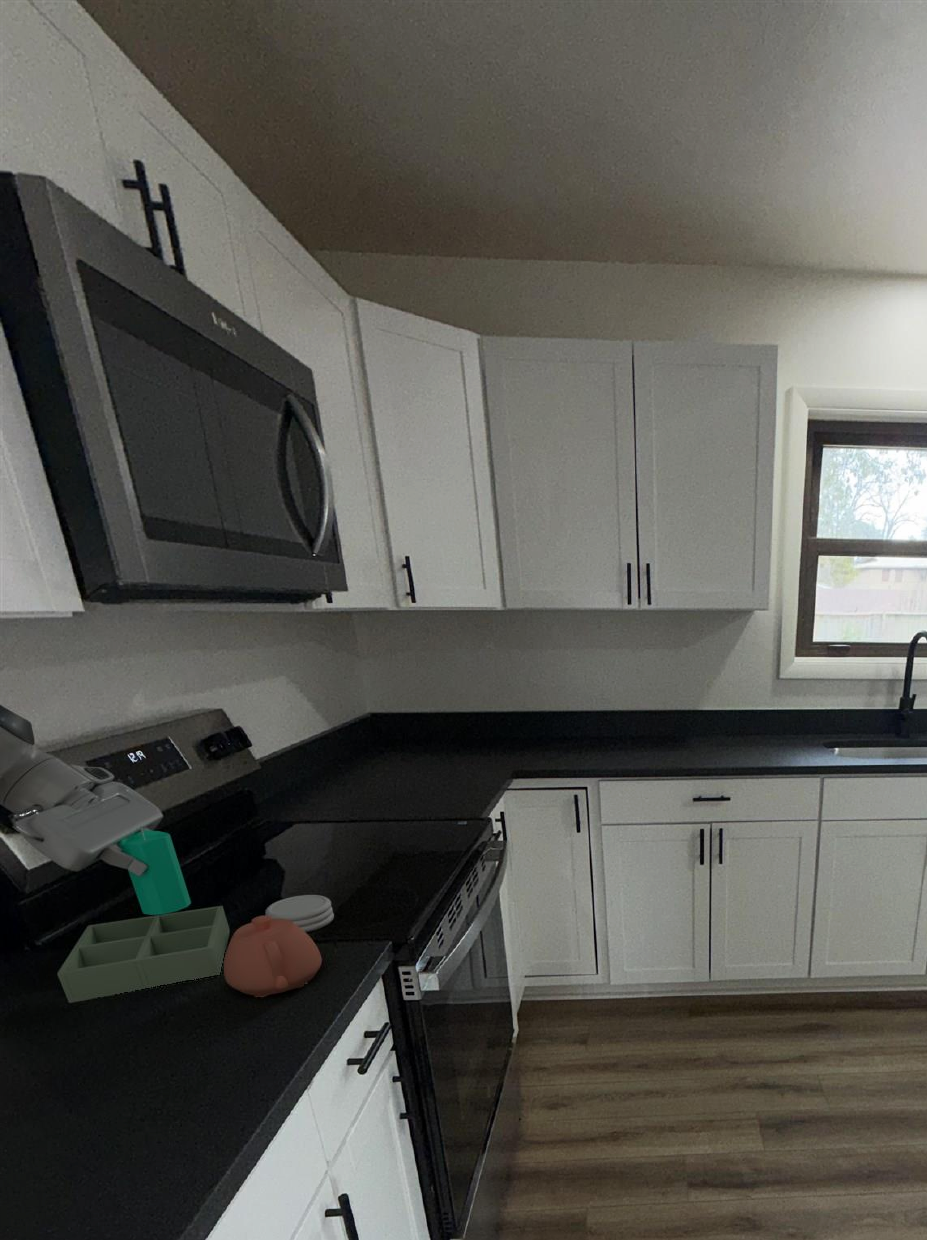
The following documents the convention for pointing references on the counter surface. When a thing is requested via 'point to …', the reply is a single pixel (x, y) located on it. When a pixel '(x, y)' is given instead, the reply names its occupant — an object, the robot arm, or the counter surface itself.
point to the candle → (157, 873)
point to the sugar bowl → (270, 957)
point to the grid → (145, 953)
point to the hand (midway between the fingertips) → (157, 863)
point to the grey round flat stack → (303, 911)
